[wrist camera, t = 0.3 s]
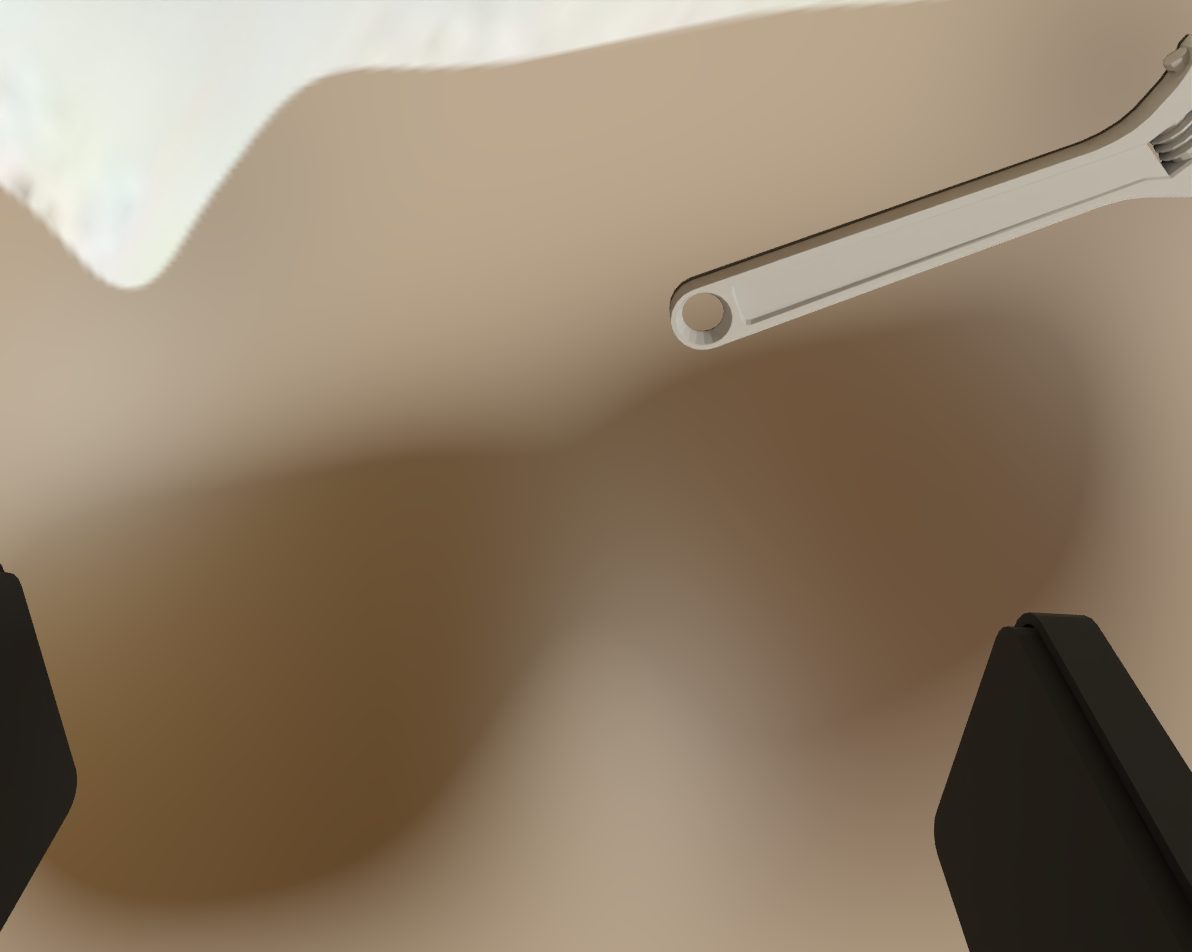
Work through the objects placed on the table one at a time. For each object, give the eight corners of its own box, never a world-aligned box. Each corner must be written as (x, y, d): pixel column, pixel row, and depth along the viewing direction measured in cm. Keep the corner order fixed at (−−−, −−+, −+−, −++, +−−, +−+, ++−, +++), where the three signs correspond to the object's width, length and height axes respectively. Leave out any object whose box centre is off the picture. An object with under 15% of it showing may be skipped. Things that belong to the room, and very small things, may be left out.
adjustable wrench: (679, 345, 42) (681, 363, 40) (636, 196, 39) (637, 210, 37) (1333, 167, 38) (1363, 180, 36) (1345, -17, 34) (1378, -11, 33)
